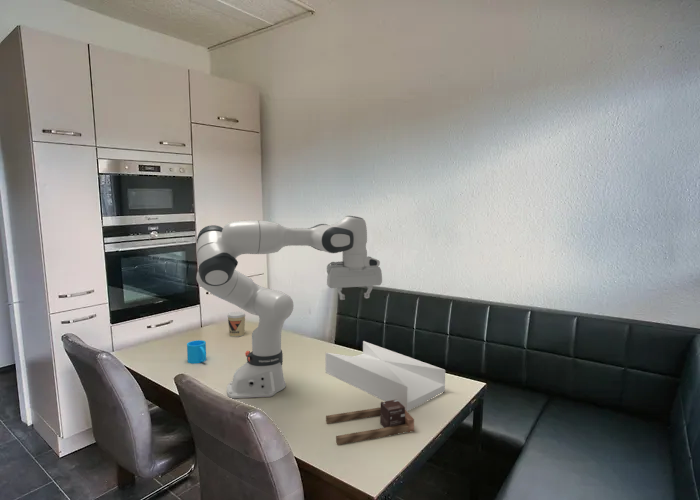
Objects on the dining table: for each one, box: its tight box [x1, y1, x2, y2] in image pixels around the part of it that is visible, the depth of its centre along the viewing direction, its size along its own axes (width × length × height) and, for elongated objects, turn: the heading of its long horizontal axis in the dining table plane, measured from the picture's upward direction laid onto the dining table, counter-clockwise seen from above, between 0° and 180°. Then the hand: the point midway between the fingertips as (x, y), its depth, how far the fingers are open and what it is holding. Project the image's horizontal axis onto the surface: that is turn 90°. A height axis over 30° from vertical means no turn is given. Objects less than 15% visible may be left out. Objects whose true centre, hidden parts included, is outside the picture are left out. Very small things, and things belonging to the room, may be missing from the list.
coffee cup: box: [227, 311, 246, 338], centre depth 225 cm, size 9×9×12 cm
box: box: [379, 400, 405, 428], centre depth 132 cm, size 6×6×7 cm
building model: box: [325, 340, 446, 412], centre depth 165 cm, size 45×22×10 cm, turn 42°
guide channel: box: [325, 400, 415, 446], centre depth 132 cm, size 25×14×4 cm, turn 107°
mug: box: [186, 339, 207, 365], centre depth 187 cm, size 12×8×8 cm
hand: (354, 298), depth 149 cm, fingers open, 8 cm apart
